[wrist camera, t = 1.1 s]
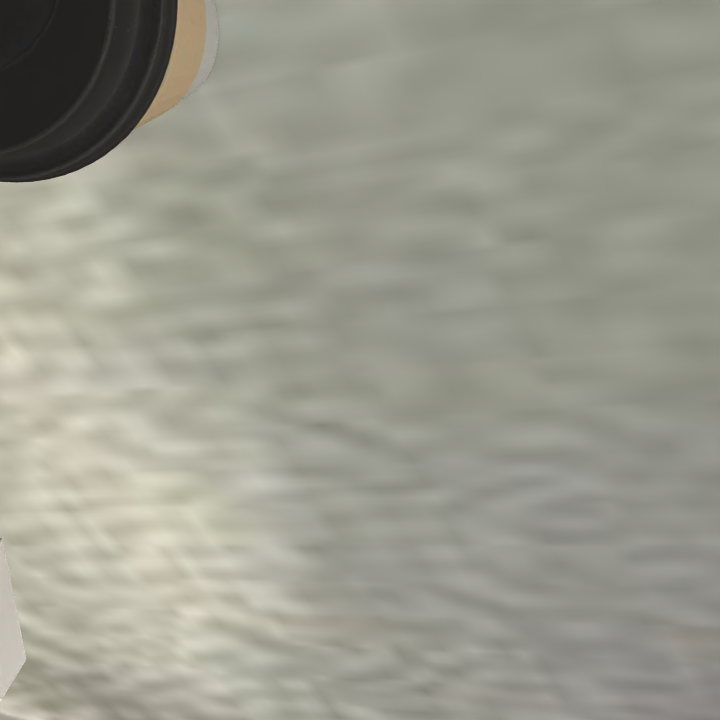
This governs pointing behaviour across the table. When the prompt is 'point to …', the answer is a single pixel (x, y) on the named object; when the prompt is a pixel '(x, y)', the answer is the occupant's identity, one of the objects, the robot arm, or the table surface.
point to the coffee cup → (93, 75)
